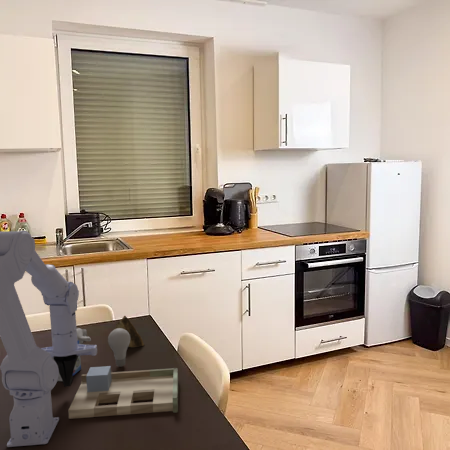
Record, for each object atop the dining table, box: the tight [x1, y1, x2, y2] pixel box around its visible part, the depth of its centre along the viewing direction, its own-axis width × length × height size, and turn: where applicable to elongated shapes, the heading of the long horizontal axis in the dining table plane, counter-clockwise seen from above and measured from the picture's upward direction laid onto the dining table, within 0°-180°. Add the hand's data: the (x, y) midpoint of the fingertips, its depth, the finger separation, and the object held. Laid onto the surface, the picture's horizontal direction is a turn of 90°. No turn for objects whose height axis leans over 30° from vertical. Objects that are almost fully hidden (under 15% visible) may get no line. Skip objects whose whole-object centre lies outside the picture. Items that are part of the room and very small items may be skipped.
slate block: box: [86, 365, 112, 392], centre depth 112 cm, size 5×5×4 cm
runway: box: [68, 367, 179, 420], centre depth 109 cm, size 16×24×4 cm, turn 95°
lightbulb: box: [107, 328, 130, 368], centre depth 127 cm, size 6×6×11 cm
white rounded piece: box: [76, 327, 92, 345], centre depth 146 cm, size 10×5×15 cm
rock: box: [113, 315, 145, 348], centre depth 146 cm, size 11×9×10 cm
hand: (68, 384), depth 111 cm, fingers closed
